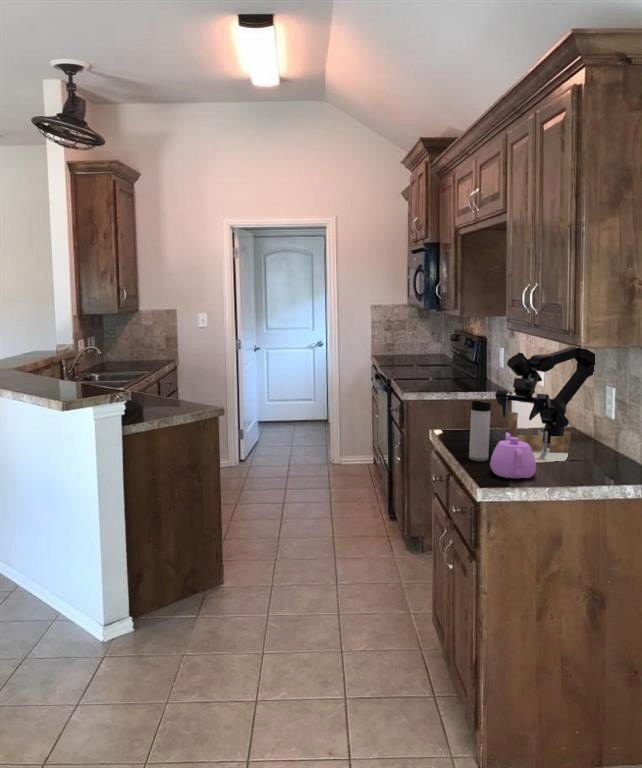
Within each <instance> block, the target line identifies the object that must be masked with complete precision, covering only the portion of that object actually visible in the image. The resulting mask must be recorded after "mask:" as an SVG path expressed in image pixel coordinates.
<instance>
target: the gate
mask: <svg viewBox="0 0 642 768" xmlns="http://www.w3.org/2000/svg"><path fill="white" fill-rule="evenodd" d="M518 418H519V413H518V412H515V411H514V412H513V411H512V412H511V411H510V412H509V414H508V430H507V431H508V433H510V436H511V437H517V438H519V441H522V442H526V443H528V444H529V445H530V447H531V449H532V451H542V449H543V446H544V440H543V435H517V433H518V420H519V419H518Z"/></svg>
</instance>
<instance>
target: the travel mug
mask: <svg viewBox="0 0 642 768" xmlns="http://www.w3.org/2000/svg"><path fill="white" fill-rule="evenodd" d="M491 405H492V403H491V402H489V401H488V402H484V401H483V400H482V401H481V400H471V410H470V411H471V412H470V425H469V426H470V429H469V431H470V432H469V446H468V447H469V448H468V449H469V450H468V451H469V452H468V459H469V460H470V459H471V460H470V461H473V460H474V462H487V461H488V460H489V448H490V428H491ZM486 460H487V461H486Z"/></svg>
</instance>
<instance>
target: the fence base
mask: <svg viewBox="0 0 642 768" xmlns="http://www.w3.org/2000/svg"><path fill="white" fill-rule="evenodd" d="M571 435H572V433H571V431H567V430H564V434H563V436H551V437H550V442H549V448H550V452H564V453H571V452H570V451H571V450H570V449H571ZM547 438H548V432H547V431H545V437H544V440H543V448H544V452H545V453H546V452H547V448H548V442H547Z"/></svg>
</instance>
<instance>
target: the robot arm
mask: <svg viewBox="0 0 642 768" xmlns="http://www.w3.org/2000/svg"><path fill="white" fill-rule="evenodd" d="M572 346H573V345H571V346H570V347H565V348H564V349H560V350H558V351H554V352H551V353H547V354H546V353H545V354H544V353H542V354H541V353H540V354H533V355H531V356H530V358H527V357H526V356H525V355H524V354H523V352H517V354H515V355H512V356H511V357H510V358H509V359H508V360H507V362H506V365H507V366H508V368H509V369H510V370H511V371H512V372H513V373H514V375H515V376H516V377H514V379H513V383H512V388H514V390H513V392H514V394H509V390H505V389H498V390H496V391H495V394H494V396H495V399H496V402H497V404H498V405H500V406H501V407H502V416H503V417H502V418H505V417H506V416H507V414H508V411H509V408H510V405H509V404H510V403H511V401H513V402H514V401H515V402H521V403H525V404H527V403H528V404H533V406H532V409H531V412H529V413H530V414H529V418H528V419H529V421H531V420H533V419H534V418H535V417H536V416H537V415H539V417H540V420H541V424H544V428H543V435H542V436H543V441H544V437H545V431H547V432H548V438H547V443H550V437H551V436H563V434H564V431H565V428H566V427H568V425H569V422H570V421H569V420H568V418H567V417H566V413H567V405H568V404H569V403H570V402H571V400H572V399H573V397H574V396H575V395H576V393H577V392H578V391H579V390H580V388H581V387H582V386H583V384H584V383H585V382H586V380H588V378H589V377H592V376H593V372H594V365H595V354H596V353H594V352H592V351H590V350H589V349H587V348H586V349H581V348H576V347H572ZM570 360H574V361H576V362H577V363H576V368H575V369H576V370H575V371H574V373H573V374H572V375H571V377H570V378H569V379H568V380H567V382H566V383H565V384H564V386H563V387H562V388H561V389H560V391H559V392H558V393H557V394H556V396H555V397H554V398H551V397H550V395H549V394H548V393H547V394H545V393H536V386H537V383H539V382H543V378H542V377H541V375H540V373H539V372H541V373H546V372H547V373H548V372H549V371H551V370H553V369H554V368H555V366H556V365H558V364H561V363H565V362H567V361H570ZM519 377H520V378H519ZM535 393H536V396H534V397H533V395H534V394H535Z"/></svg>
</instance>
